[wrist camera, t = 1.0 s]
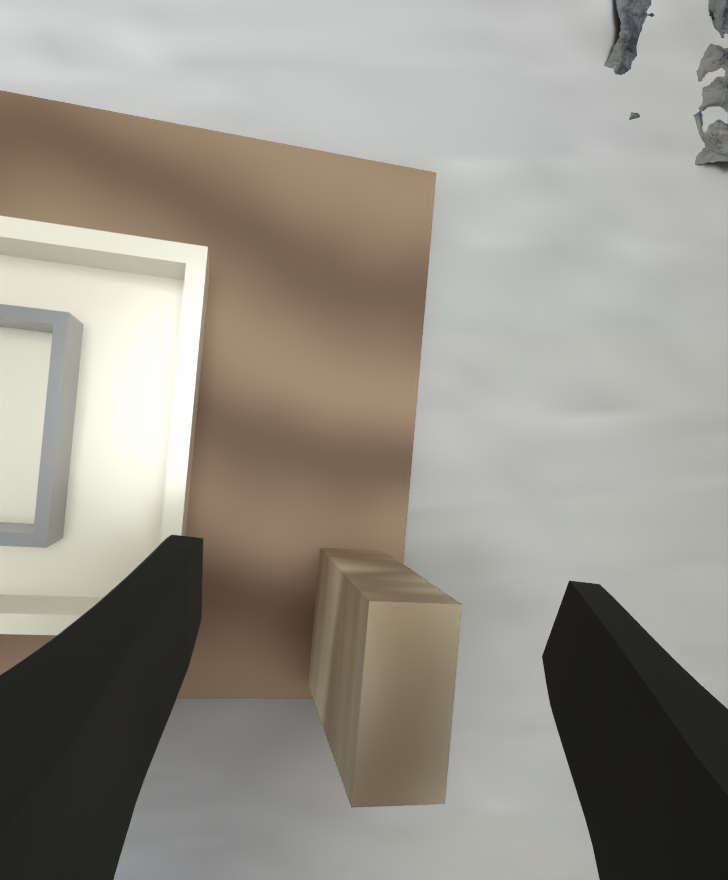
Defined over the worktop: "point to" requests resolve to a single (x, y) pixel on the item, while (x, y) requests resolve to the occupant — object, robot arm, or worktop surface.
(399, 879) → the worktop surface
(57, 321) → the cream square tray
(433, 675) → the tall bronze block
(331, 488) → the board
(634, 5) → the driftwood
